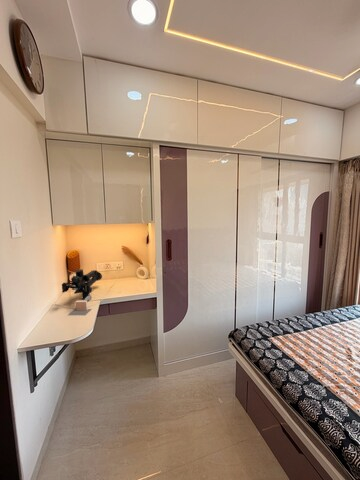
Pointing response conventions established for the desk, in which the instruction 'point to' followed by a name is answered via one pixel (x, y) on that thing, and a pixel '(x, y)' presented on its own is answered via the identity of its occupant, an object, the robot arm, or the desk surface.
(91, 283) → the robot arm
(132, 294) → the desk surface
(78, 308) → the glazed tile
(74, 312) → the rubber mat
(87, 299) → the caliper
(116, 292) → the desk surface
